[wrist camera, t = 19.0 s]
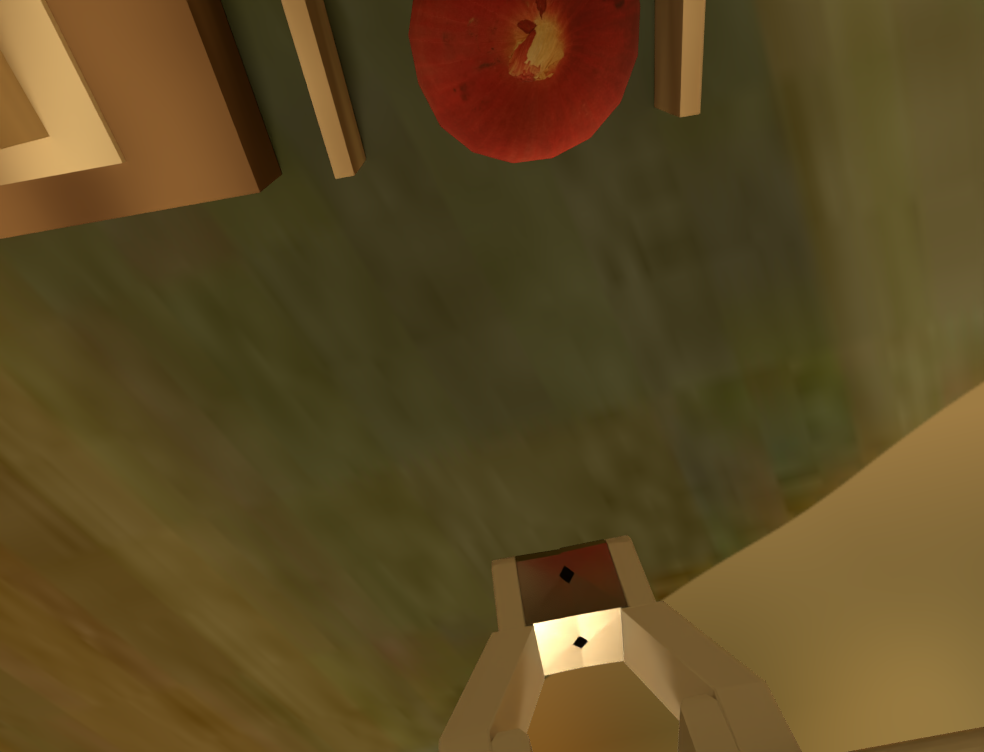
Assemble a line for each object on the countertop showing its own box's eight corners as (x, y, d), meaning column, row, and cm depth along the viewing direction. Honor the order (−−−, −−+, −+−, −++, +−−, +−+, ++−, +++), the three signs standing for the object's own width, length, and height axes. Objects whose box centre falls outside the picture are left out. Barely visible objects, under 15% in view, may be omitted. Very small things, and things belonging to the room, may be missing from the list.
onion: (406, -65, 16) (354, -149, 9) (605, -91, 15) (711, -197, 9) (437, 150, 19) (418, 211, 12) (604, 130, 18) (682, 180, 12)
